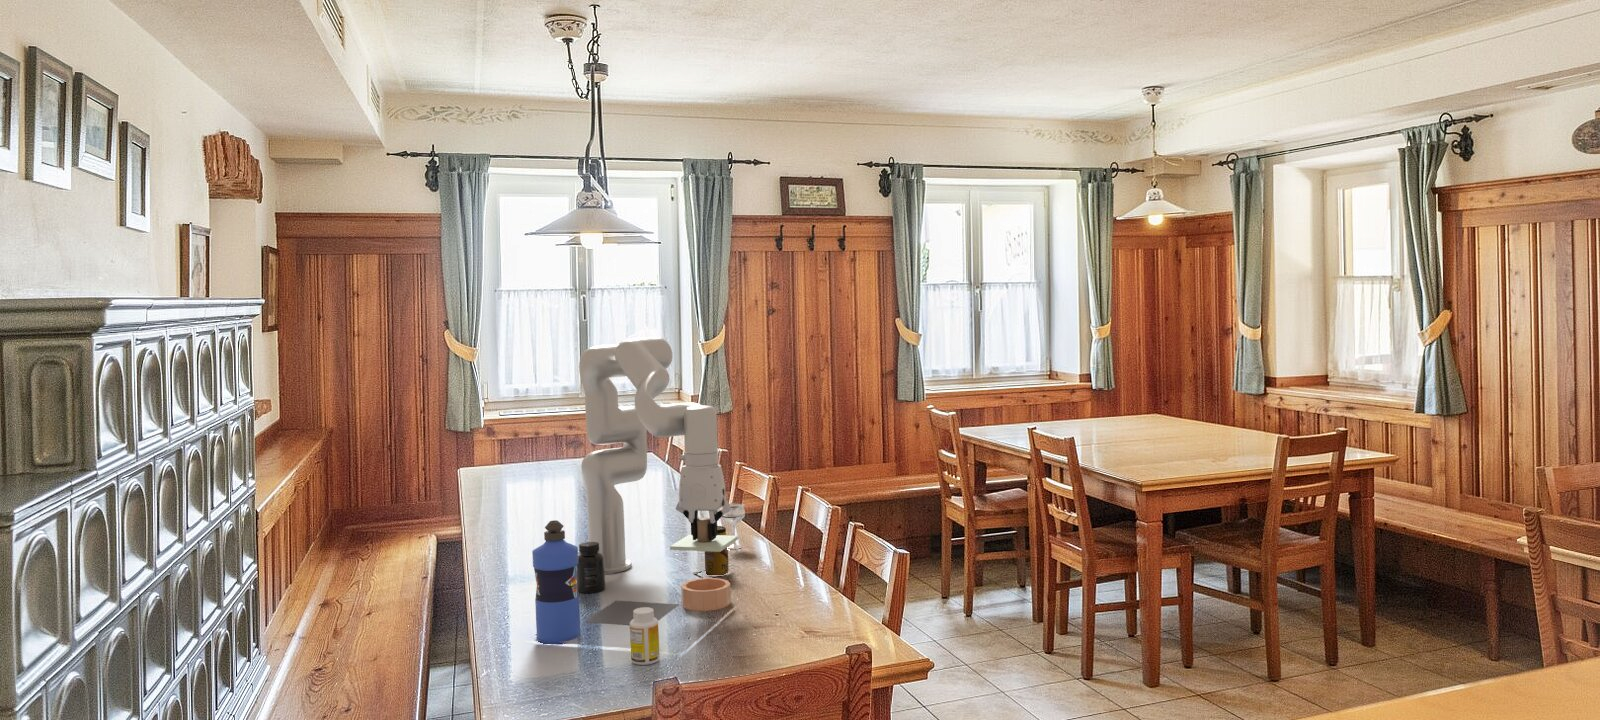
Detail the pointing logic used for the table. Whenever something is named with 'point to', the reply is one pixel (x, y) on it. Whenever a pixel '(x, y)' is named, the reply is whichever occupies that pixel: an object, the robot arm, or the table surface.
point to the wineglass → (734, 518)
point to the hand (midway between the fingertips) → (704, 538)
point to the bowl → (706, 594)
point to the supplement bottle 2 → (644, 637)
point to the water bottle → (556, 587)
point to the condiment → (716, 559)
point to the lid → (703, 540)
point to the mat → (627, 612)
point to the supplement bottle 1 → (590, 569)
